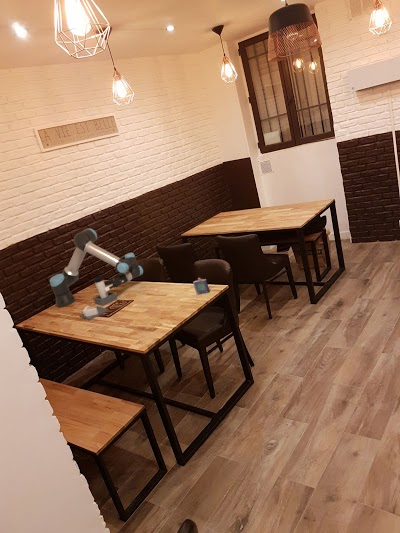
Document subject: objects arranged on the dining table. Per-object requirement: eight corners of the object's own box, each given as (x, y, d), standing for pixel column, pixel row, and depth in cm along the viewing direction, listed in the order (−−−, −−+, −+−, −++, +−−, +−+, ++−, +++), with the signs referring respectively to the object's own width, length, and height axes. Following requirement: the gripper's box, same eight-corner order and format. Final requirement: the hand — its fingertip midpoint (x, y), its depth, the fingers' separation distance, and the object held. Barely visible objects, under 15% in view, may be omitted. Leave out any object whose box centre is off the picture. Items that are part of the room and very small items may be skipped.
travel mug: (111, 298, 305) (102, 274, 300) (108, 302, 299) (99, 277, 293) (104, 300, 306) (95, 276, 301) (101, 304, 300) (92, 279, 294)
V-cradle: (79, 316, 286) (77, 310, 284) (98, 307, 294) (95, 301, 293) (89, 320, 273) (86, 313, 272) (108, 310, 282) (106, 303, 281)
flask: (196, 295, 265) (191, 279, 262) (197, 293, 268) (192, 278, 265) (209, 292, 263) (205, 277, 260) (210, 291, 265) (206, 276, 262)
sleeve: (95, 304, 304) (93, 298, 302) (109, 297, 311) (107, 291, 309) (103, 306, 294) (100, 300, 293) (117, 298, 301) (115, 292, 300)
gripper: (134, 283, 302) (110, 295, 290) (118, 280, 322) (95, 291, 309) (131, 274, 300) (107, 285, 288) (115, 271, 319) (91, 282, 307)
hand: (100, 288), depth 299 cm, fingers open, 13 cm apart
